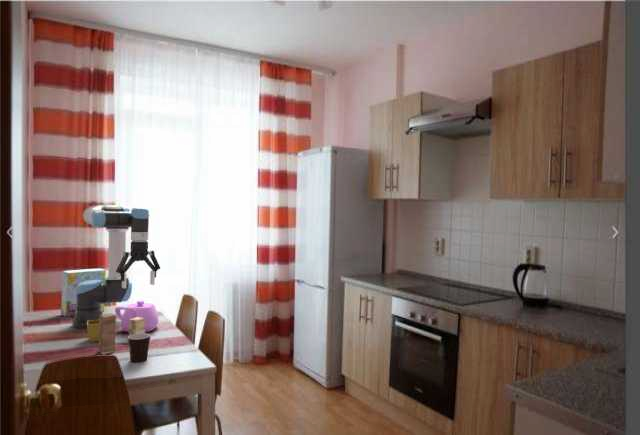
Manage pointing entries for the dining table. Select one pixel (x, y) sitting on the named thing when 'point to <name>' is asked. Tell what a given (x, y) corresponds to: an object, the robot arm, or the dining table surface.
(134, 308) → the teapot
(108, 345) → the walnut block
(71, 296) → the snack box
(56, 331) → the dining table surface
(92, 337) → the flower pot
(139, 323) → the oak block
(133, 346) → the coffee mug
